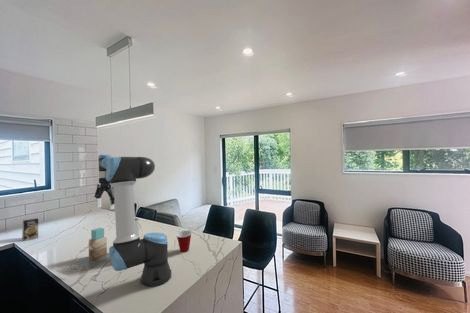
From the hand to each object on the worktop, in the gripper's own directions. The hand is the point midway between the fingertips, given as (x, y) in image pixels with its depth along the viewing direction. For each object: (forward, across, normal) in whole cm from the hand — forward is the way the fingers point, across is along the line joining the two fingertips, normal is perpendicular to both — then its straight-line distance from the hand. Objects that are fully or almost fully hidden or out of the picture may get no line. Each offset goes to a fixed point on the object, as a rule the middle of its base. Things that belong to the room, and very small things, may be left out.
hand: (105, 208), depth 145 cm
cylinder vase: (+31, -23, +1) cm, 39 cm away
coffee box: (+31, +91, +5) cm, 96 cm away
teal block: (+17, -4, +8) cm, 19 cm away
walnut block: (+29, -4, +8) cm, 31 cm away
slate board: (+31, -6, +10) cm, 33 cm away
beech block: (+23, -4, +8) cm, 25 cm away
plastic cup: (+31, -47, -24) cm, 61 cm away
